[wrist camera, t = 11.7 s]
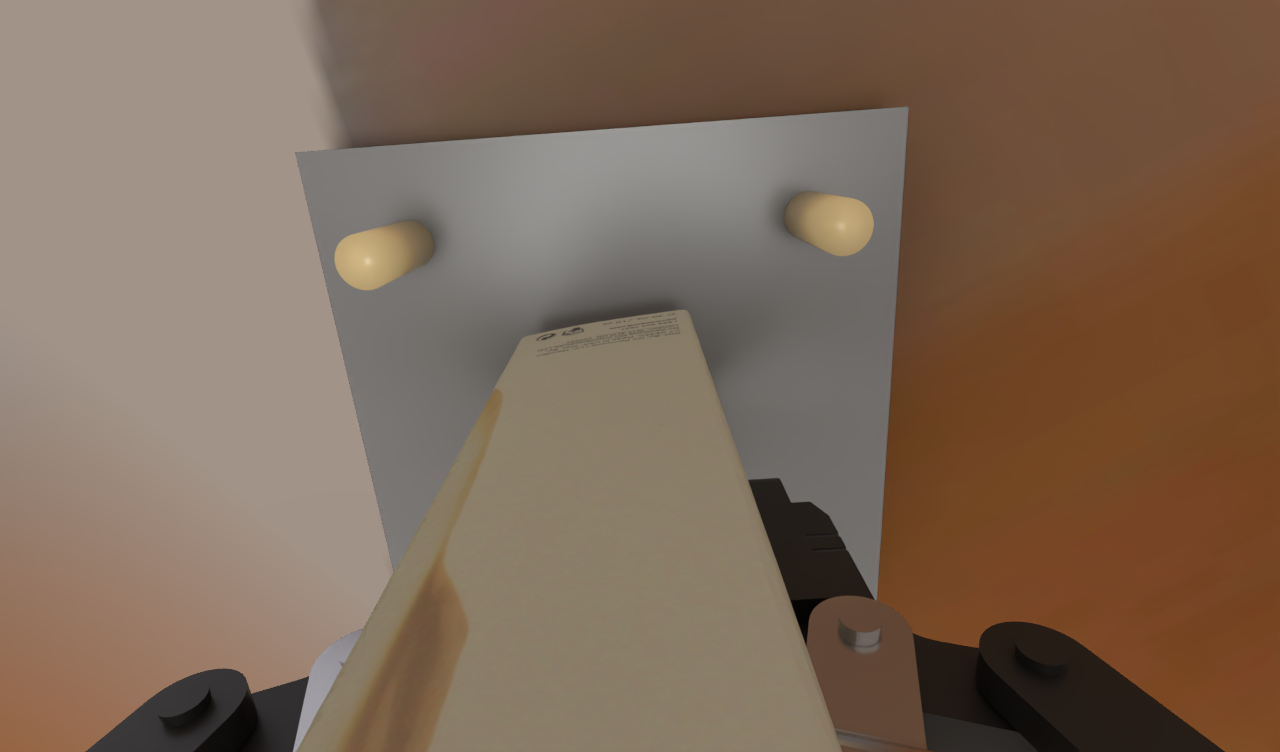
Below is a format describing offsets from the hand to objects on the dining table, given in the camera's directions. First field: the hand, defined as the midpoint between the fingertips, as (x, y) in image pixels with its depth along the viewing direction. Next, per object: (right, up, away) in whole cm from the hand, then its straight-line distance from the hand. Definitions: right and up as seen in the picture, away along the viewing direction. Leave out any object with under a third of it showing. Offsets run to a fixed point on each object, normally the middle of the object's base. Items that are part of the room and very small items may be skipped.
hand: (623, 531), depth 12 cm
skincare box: (0, +2, +4) cm, 5 cm away
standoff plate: (0, +2, +7) cm, 7 cm away
